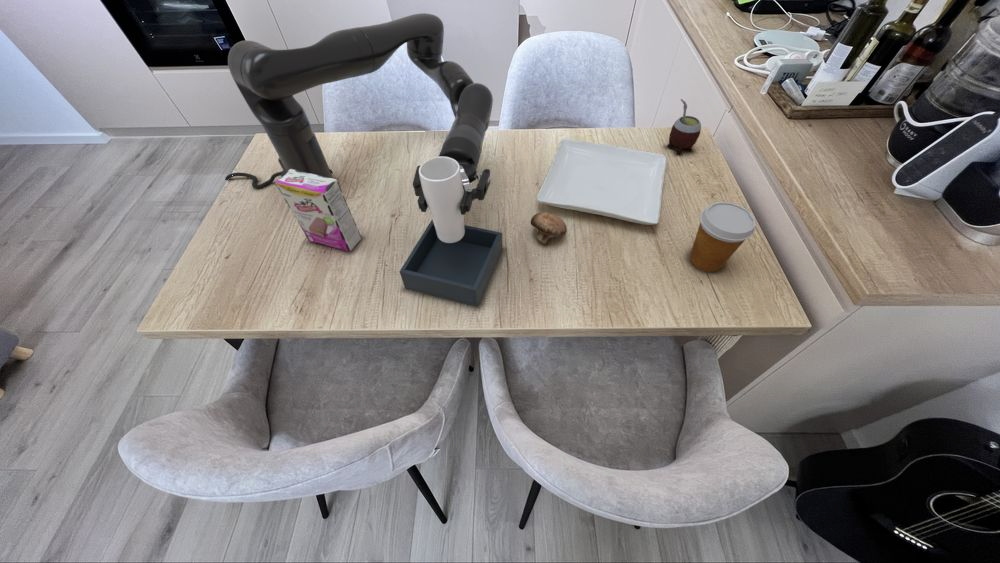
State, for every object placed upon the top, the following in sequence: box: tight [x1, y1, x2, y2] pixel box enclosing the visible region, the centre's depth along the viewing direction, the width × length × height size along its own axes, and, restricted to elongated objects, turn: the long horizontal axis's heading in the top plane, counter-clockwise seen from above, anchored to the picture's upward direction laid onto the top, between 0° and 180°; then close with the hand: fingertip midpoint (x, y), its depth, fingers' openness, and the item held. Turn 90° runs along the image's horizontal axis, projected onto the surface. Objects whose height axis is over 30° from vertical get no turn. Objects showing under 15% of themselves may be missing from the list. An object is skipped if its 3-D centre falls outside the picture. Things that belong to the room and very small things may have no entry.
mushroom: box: [530, 211, 568, 245], centre depth 86 cm, size 8×8×6 cm
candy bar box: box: [275, 169, 362, 253], centre depth 82 cm, size 11×5×16 cm, turn 71°
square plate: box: [535, 138, 668, 226], centre depth 96 cm, size 27×27×4 cm
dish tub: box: [399, 219, 504, 308], centre depth 80 cm, size 16×16×5 cm
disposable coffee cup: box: [689, 201, 757, 273], centre depth 77 cm, size 10×10×12 cm
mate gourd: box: [666, 98, 702, 156], centre depth 101 cm, size 8×8×15 cm
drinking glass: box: [419, 156, 465, 243], centre depth 69 cm, size 7×7×15 cm
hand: (442, 209), depth 67 cm, fingers closed on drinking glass, 6 cm apart
